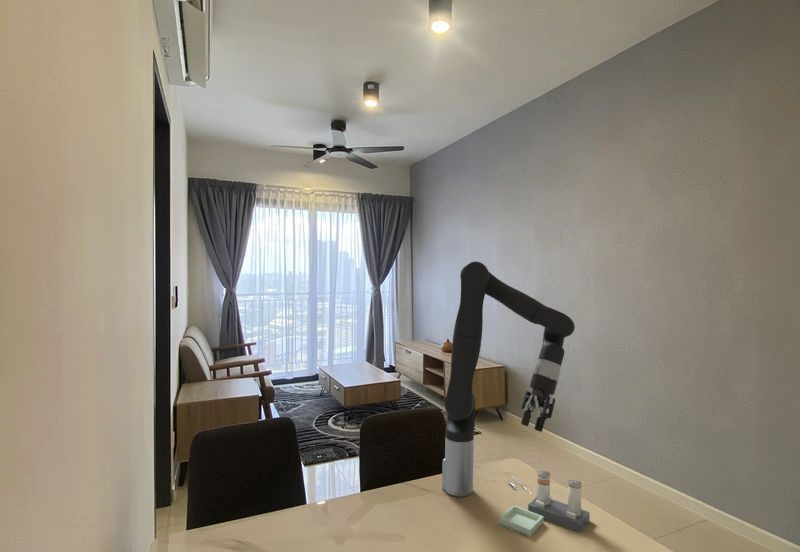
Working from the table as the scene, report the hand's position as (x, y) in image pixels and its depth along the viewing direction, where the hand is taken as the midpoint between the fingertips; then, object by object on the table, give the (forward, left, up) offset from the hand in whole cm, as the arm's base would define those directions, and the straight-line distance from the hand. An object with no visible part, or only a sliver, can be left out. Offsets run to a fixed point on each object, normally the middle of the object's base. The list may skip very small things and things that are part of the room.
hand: (530, 427), depth 130 cm
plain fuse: (+13, +1, -22) cm, 25 cm away
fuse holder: (+8, +1, -24) cm, 26 cm away
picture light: (-9, +11, -25) cm, 29 cm away
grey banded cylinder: (+4, +1, -22) cm, 22 cm away
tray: (+2, -10, -24) cm, 26 cm away
